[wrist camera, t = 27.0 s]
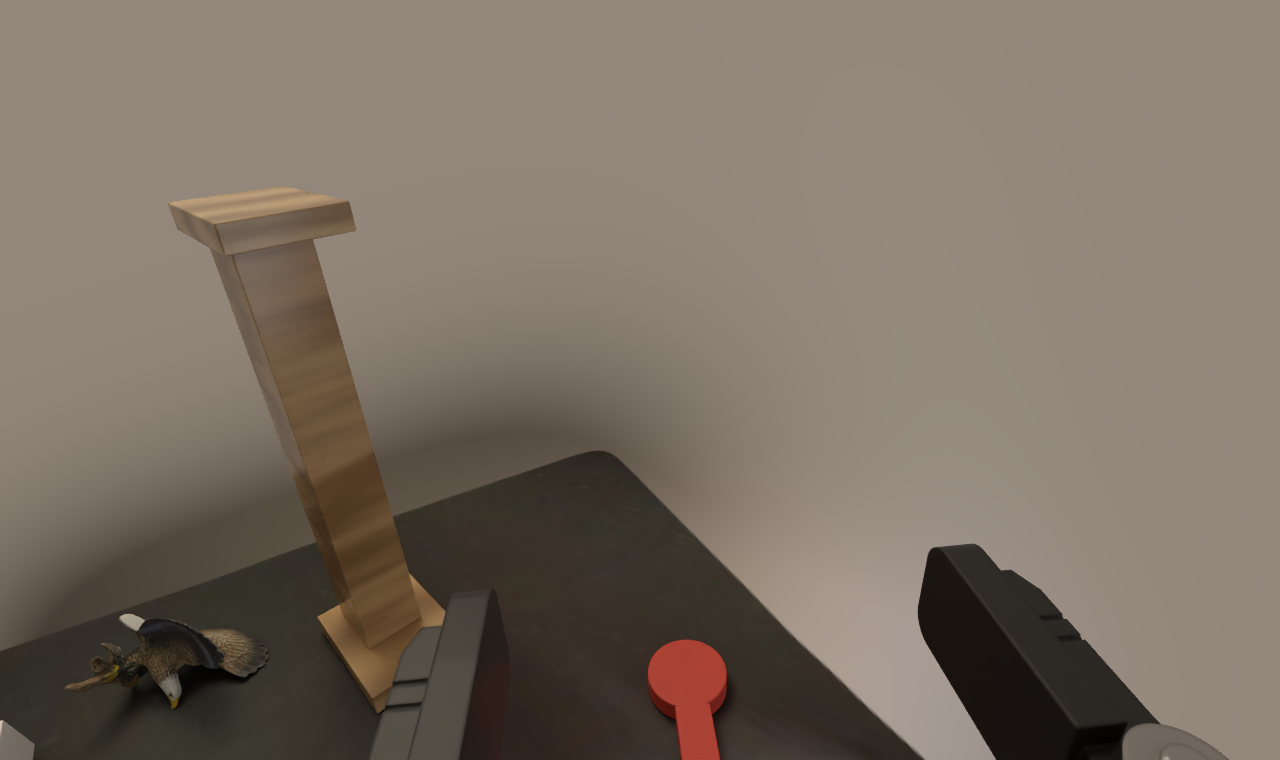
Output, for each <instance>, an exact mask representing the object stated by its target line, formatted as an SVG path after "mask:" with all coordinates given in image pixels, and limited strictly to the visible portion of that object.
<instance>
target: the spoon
mask: <svg viewBox="0 0 1280 760" xmlns="http://www.w3.org/2000/svg"><path fill="white" fill-rule="evenodd" d="M648 686H649V693H650V696H651V699H652V701H653V703H654V704H655V706H656V707H657V708H658V709H659V710H660V711H661V712H662V713H664V714H665V715H667V716H669V717H671V718H673V719H675V720H676V729H677V736H678V744H679V752H680V759H681V760H720V755H719V750H718V745H717V739H716V734H715V729H714V723H713V718H712V714H713V713H714V712H716V711H717V710H718V709H719V707H720V706H721V705H722V703H723V701H724V699H725V696H726V691H727V671H726V666H725V664H724V661H723V660H722V658H721V656H720V655H719V654H718V653H717V652H716V651H715V650H714V649H713V648H711V647H710V646H708V645H706V644H704V643H702V642H698V641H694V640H679V641H674V642H671V643H669V644H667V645H665V646H663V647H662V648H660V649H659V650H658V651H657V652H656V653H655V654H654V656H653V657H652V659H651V661H650V663H649V667H648Z"/></svg>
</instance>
